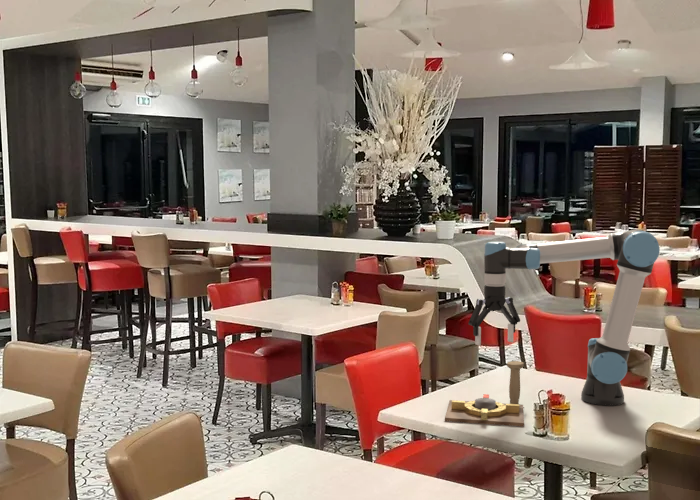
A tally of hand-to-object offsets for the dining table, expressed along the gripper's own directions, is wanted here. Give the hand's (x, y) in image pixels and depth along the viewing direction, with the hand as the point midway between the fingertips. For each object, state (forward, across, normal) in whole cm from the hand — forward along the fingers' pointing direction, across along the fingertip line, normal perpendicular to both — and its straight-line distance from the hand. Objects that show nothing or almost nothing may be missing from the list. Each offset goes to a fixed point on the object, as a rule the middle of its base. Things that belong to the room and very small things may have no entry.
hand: (494, 343), depth 293 cm
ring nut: (+21, +11, +11) cm, 26 cm away
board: (+22, +11, +11) cm, 27 cm away
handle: (+22, -6, +3) cm, 23 cm away
